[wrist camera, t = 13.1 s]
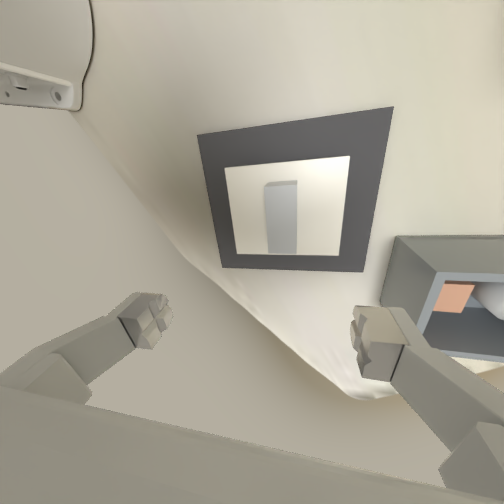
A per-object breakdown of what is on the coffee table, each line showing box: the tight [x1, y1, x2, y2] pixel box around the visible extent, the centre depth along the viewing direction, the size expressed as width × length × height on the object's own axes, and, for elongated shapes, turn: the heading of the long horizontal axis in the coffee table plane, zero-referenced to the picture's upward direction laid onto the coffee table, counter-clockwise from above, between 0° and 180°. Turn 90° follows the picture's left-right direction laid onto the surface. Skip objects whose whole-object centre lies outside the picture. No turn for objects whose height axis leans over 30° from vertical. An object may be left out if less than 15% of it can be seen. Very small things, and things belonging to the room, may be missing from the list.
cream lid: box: [225, 156, 350, 256], centre depth 22 cm, size 13×11×6 cm
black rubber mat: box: [197, 106, 394, 272], centre depth 24 cm, size 20×18×1 cm
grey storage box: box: [380, 235, 504, 363], centre depth 20 cm, size 12×10×8 cm
